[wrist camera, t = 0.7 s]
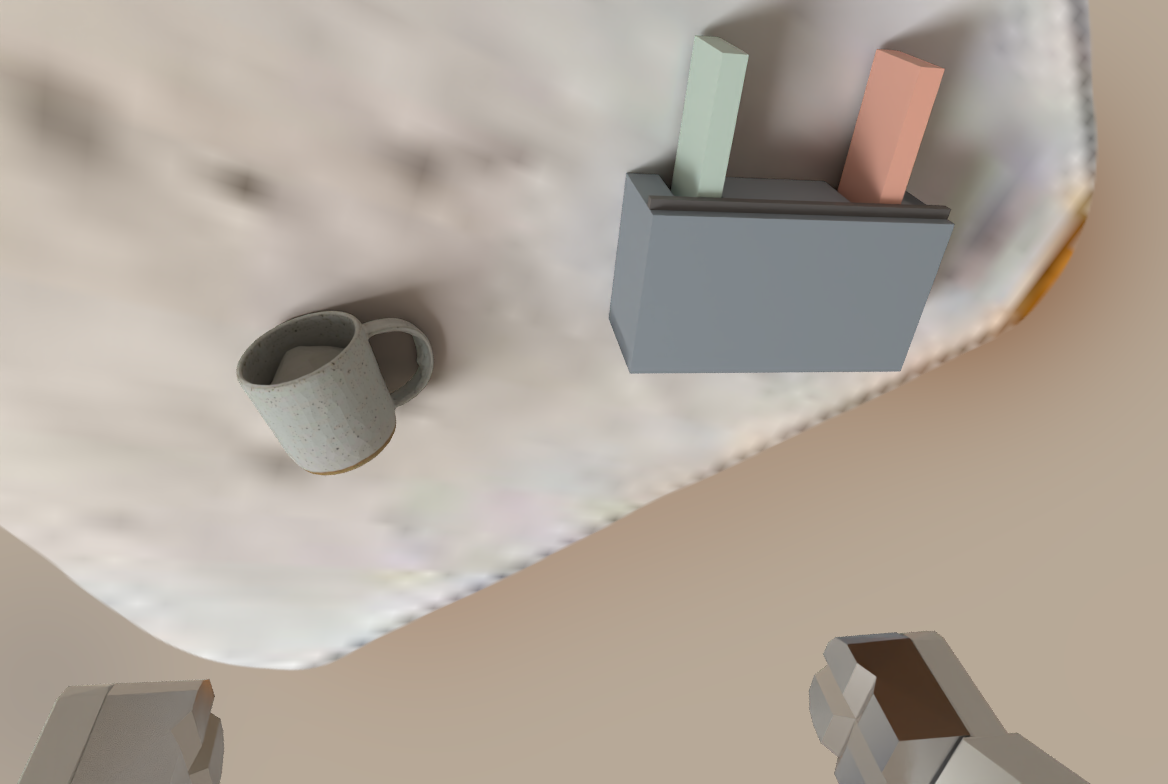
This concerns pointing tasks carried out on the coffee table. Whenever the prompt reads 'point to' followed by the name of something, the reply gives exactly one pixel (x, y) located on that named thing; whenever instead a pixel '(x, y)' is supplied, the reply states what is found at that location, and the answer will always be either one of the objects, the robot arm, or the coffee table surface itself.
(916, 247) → the grey rectangular block
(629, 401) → the coffee table surface
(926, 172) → the coffee table surface
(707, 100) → the mint green upright slab
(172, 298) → the coffee table surface
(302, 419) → the ceramic mug
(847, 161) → the pink stick
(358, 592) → the coffee table surface
